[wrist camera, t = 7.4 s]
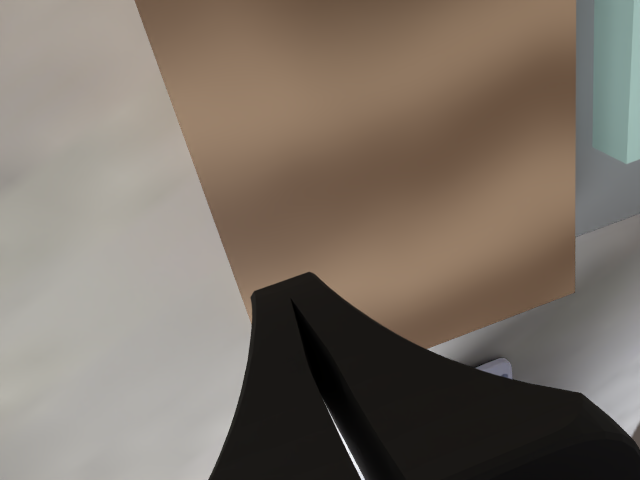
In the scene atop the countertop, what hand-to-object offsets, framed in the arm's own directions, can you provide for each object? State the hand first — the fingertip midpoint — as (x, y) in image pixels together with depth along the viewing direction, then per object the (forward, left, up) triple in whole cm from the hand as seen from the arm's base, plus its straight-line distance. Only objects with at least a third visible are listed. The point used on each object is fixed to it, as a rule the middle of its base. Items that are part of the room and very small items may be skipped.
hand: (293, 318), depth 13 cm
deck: (-1, -5, -10) cm, 11 cm away
